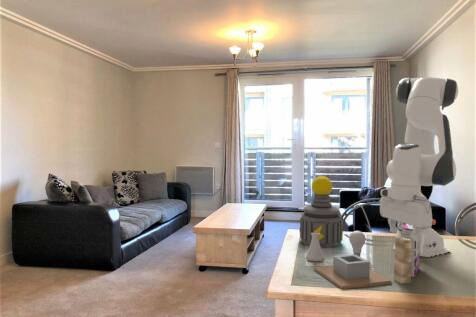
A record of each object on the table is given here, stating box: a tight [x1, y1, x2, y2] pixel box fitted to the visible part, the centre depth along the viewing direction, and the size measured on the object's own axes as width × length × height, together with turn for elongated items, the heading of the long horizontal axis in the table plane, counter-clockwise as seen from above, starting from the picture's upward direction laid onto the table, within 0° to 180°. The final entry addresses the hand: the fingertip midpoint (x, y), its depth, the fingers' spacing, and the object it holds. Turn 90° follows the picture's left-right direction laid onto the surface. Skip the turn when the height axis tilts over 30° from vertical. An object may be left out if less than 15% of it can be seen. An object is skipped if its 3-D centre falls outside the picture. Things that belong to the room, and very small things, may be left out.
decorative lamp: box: [299, 175, 344, 249], centre depth 168 cm, size 19×19×30 cm
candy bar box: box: [401, 223, 420, 278], centre depth 131 cm, size 11×5×16 cm, turn 148°
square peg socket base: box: [313, 253, 392, 290], centre depth 126 cm, size 18×18×6 cm
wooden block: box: [393, 237, 412, 284], centre depth 122 cm, size 4×4×14 cm
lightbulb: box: [348, 230, 367, 257], centre depth 145 cm, size 6×6×11 cm
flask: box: [305, 233, 325, 262], centre depth 144 cm, size 7×7×10 cm
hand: (403, 236), depth 122 cm, fingers open, 8 cm apart
